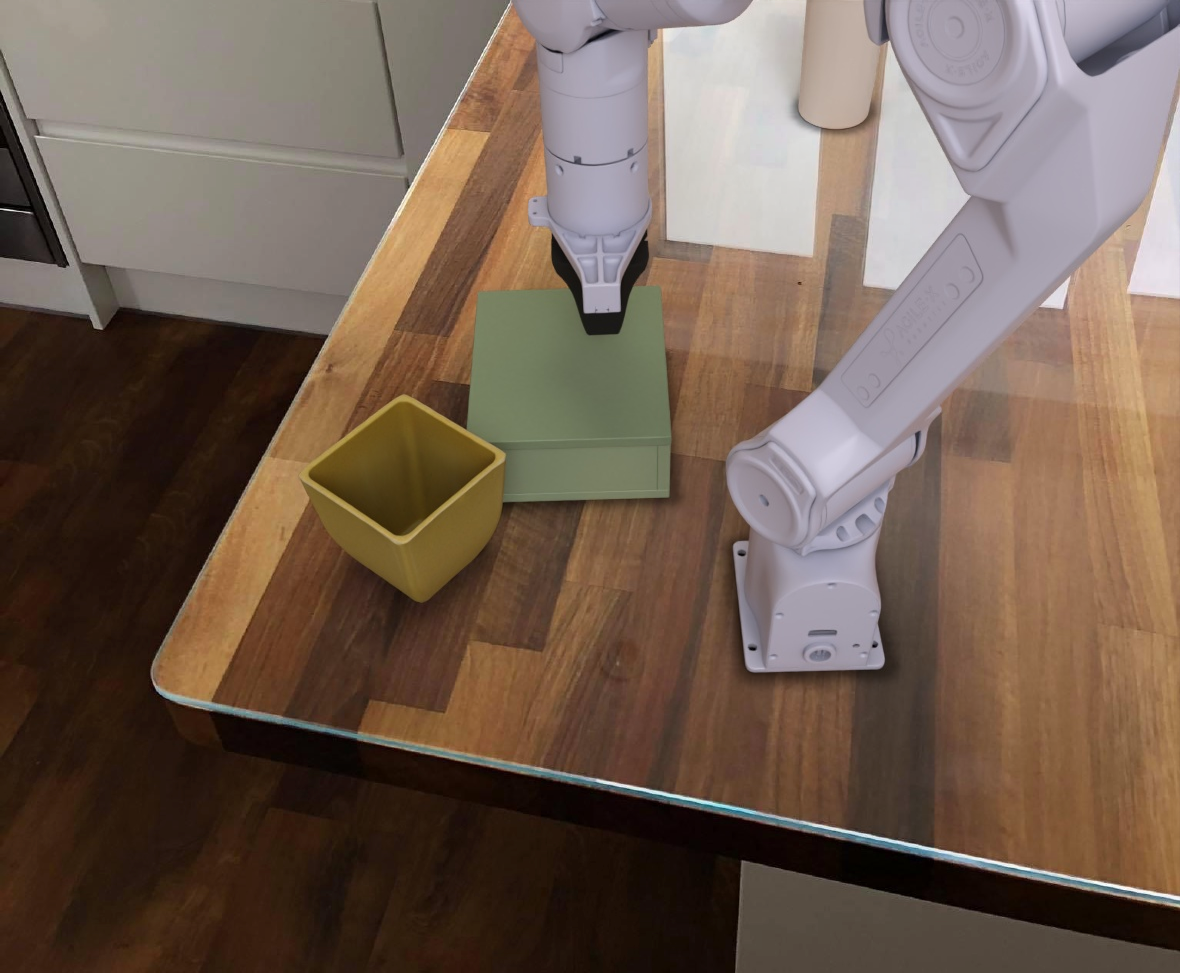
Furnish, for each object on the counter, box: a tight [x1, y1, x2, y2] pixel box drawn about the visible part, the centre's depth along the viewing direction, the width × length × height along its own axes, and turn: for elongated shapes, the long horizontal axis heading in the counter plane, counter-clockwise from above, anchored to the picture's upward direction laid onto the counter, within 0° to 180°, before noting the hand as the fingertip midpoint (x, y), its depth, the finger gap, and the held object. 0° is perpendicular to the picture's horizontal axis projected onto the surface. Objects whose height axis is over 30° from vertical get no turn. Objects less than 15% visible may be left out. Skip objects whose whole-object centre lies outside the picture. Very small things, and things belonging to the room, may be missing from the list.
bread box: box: [502, 444, 672, 503], centre depth 82 cm, size 14×13×6 cm
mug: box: [798, 0, 882, 130], centre depth 106 cm, size 10×7×12 cm, turn 153°
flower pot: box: [297, 393, 506, 604], centre depth 74 cm, size 9×9×9 cm
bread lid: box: [465, 284, 673, 450], centre depth 80 cm, size 14×13×1 cm
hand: (602, 327), depth 76 cm, fingers closed
